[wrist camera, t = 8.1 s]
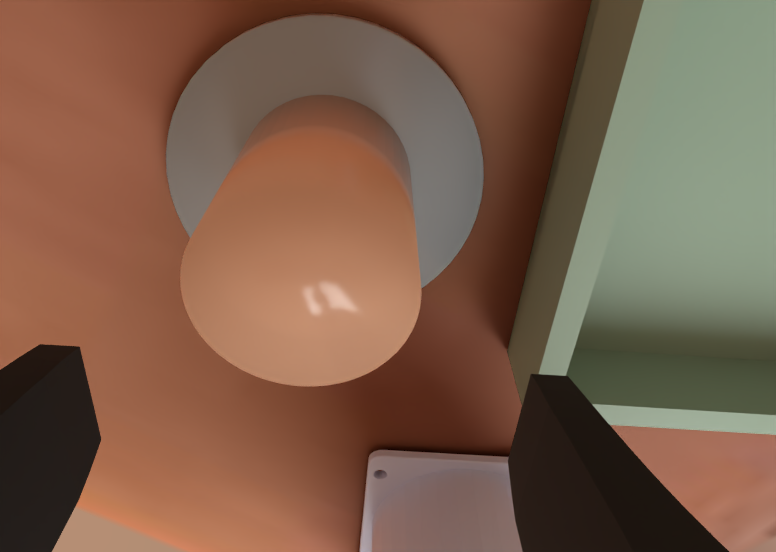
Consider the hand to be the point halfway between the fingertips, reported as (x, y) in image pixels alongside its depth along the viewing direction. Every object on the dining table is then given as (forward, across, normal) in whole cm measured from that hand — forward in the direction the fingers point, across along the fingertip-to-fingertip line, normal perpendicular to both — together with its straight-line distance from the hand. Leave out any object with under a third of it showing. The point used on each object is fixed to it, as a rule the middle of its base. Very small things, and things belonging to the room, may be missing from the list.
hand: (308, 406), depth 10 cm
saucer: (+9, 0, 0) cm, 9 cm away
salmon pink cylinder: (+9, 0, 0) cm, 9 cm away
